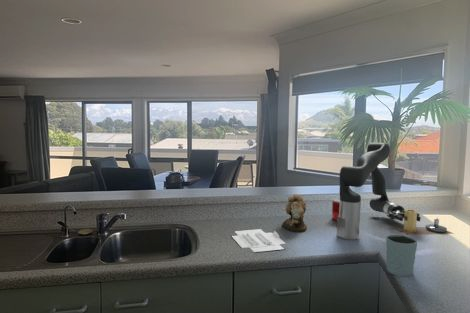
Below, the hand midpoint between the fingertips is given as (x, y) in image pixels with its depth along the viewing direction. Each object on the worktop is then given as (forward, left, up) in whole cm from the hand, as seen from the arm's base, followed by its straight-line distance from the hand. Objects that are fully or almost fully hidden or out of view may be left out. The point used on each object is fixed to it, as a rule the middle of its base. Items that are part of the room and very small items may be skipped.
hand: (410, 219), depth 164 cm
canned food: (-16, +33, -8) cm, 37 cm away
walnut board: (+7, -1, -8) cm, 10 cm away
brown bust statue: (-47, +30, -8) cm, 56 cm away
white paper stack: (-73, +18, -8) cm, 76 cm away
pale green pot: (-39, -29, -8) cm, 50 cm away
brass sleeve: (0, +1, -6) cm, 6 cm away
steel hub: (+14, -3, -6) cm, 15 cm away
